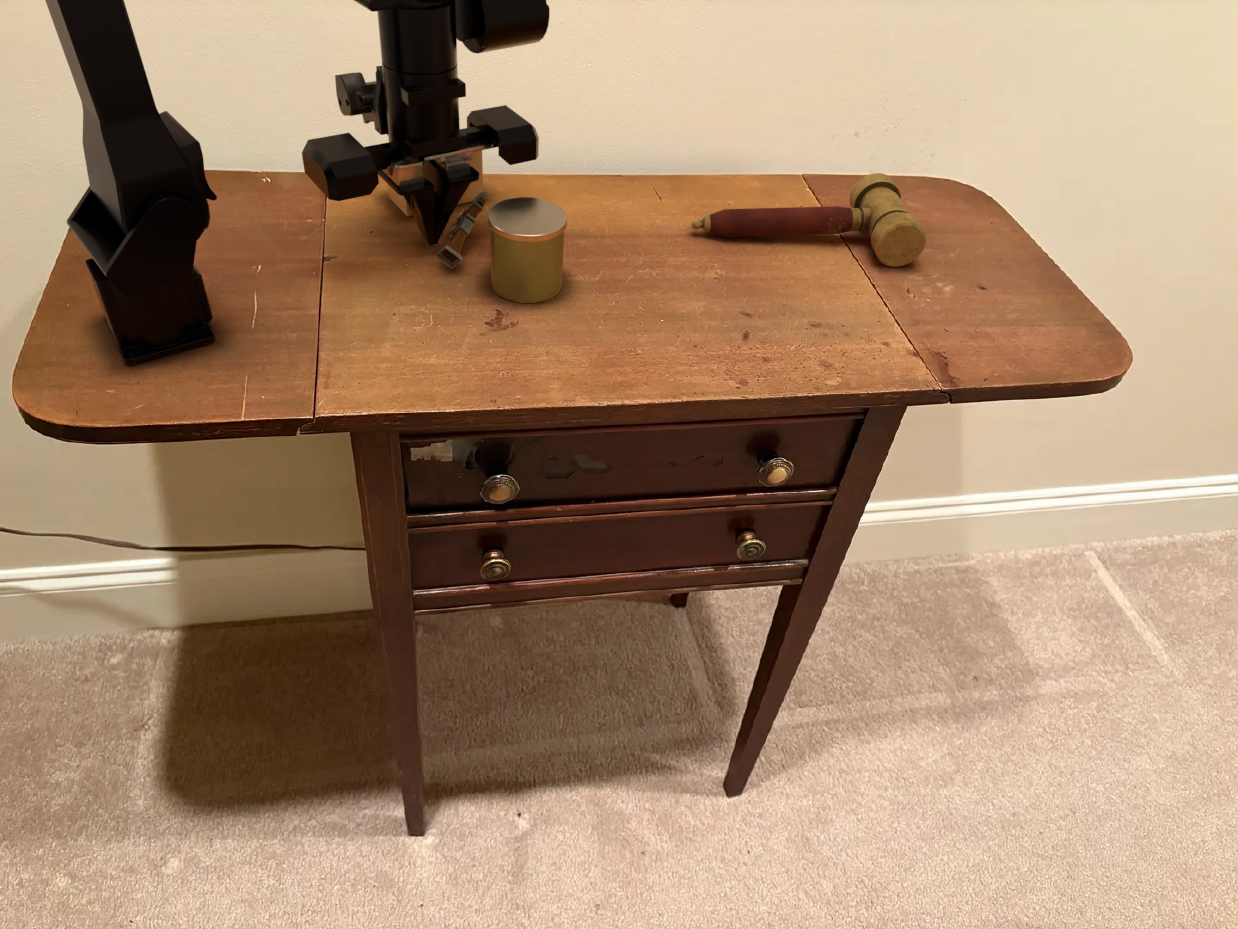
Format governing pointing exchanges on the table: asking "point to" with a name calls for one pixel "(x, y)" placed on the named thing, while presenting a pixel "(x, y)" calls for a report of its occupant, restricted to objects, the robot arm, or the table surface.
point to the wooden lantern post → (461, 231)
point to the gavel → (835, 221)
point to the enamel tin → (527, 249)
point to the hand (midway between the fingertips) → (430, 242)
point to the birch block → (468, 196)
